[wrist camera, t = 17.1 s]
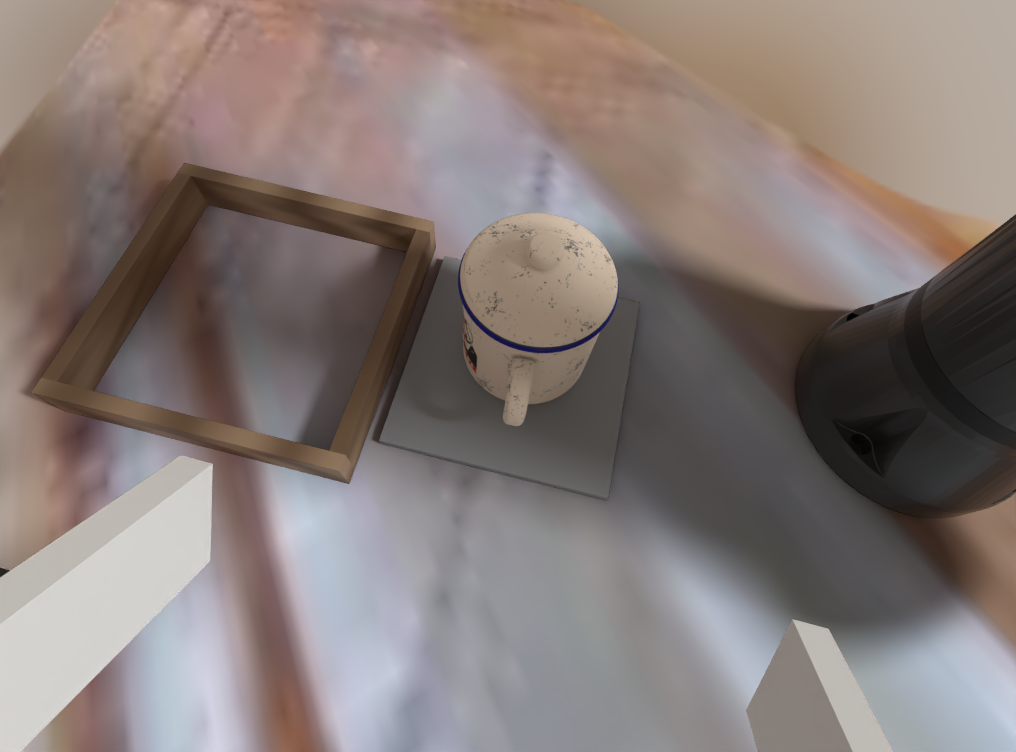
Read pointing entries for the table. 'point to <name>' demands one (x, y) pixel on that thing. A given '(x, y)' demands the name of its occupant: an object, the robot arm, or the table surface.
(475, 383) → the rubber mat
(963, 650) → the table surface
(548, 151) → the table surface
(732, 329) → the table surface
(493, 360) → the teacup with lid
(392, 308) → the wooden frame
